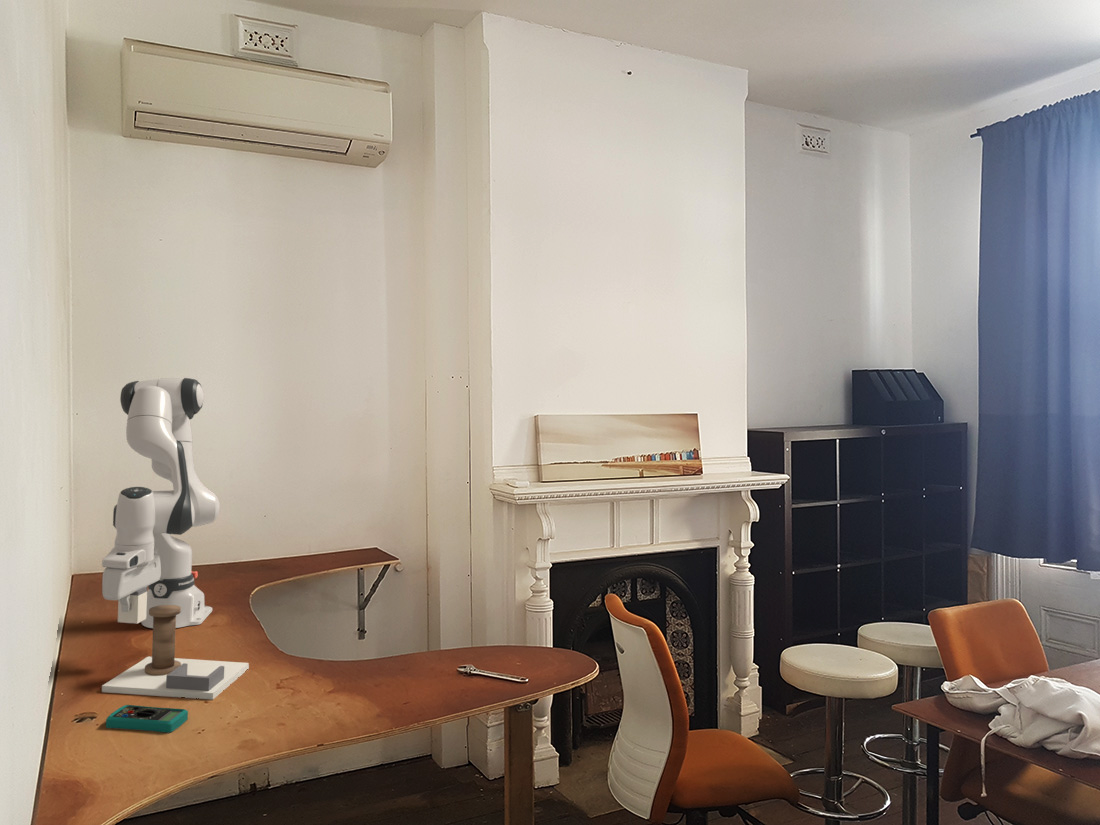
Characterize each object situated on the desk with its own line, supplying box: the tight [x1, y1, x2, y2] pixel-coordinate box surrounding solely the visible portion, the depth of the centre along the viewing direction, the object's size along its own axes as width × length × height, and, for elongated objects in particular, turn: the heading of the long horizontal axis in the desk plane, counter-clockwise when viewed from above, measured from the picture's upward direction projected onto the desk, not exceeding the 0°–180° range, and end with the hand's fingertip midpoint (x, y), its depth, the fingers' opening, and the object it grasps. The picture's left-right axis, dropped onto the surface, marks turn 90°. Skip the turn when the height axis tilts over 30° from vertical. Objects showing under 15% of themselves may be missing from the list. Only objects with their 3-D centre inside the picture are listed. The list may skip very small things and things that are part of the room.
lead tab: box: [117, 586, 148, 624], centre depth 204 cm, size 4×5×8 cm
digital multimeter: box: [105, 704, 189, 734], centre depth 173 cm, size 7×15×3 cm, turn 86°
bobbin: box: [145, 605, 181, 676], centre depth 199 cm, size 8×8×15 cm
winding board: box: [101, 656, 250, 701], centre depth 197 cm, size 20×26×4 cm
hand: (132, 608), depth 204 cm, fingers closed on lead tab, 4 cm apart
